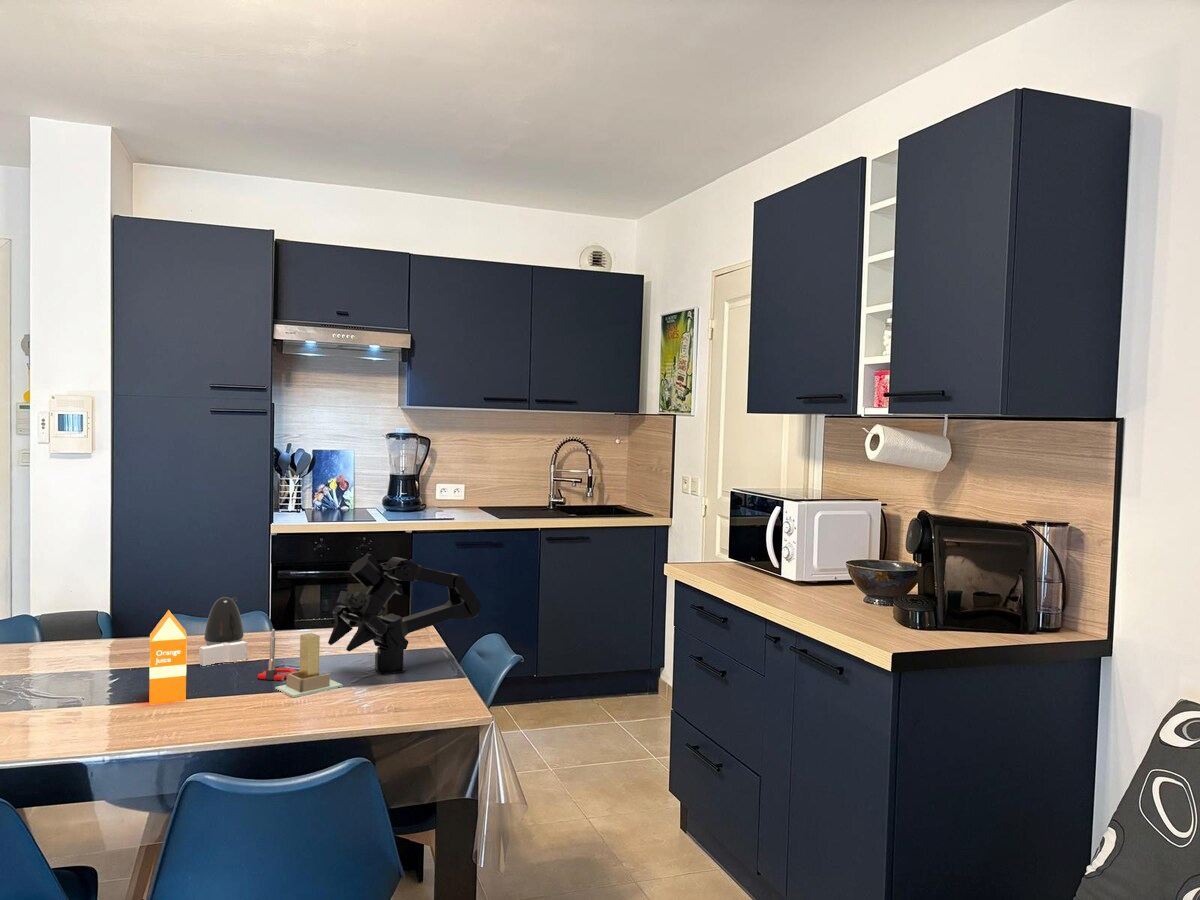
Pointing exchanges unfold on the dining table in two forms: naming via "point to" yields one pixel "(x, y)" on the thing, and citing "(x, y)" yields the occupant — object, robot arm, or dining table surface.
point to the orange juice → (167, 661)
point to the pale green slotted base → (307, 684)
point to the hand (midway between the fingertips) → (338, 647)
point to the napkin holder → (222, 653)
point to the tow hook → (272, 672)
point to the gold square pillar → (309, 655)
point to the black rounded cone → (224, 623)
